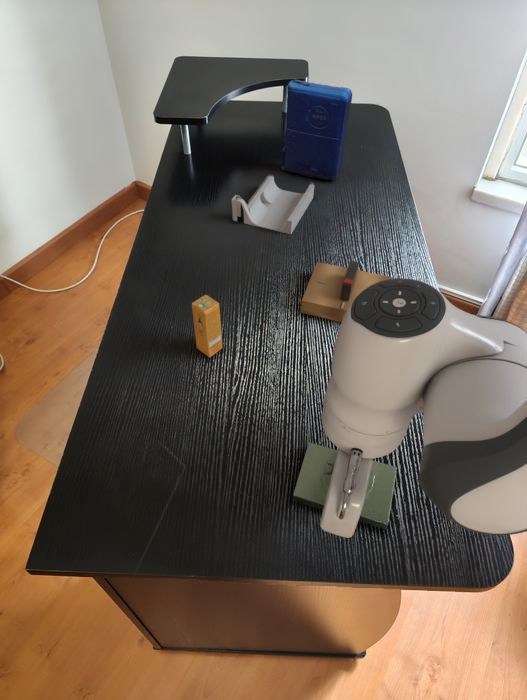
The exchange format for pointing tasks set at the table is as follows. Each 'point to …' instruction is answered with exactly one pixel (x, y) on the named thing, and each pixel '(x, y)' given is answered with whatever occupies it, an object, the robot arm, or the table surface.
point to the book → (316, 129)
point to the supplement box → (207, 325)
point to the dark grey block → (349, 280)
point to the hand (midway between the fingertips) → (347, 473)
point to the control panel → (333, 291)
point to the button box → (318, 478)
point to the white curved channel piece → (273, 207)
